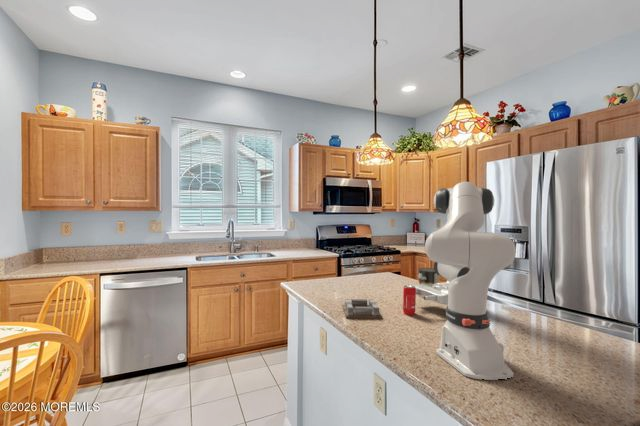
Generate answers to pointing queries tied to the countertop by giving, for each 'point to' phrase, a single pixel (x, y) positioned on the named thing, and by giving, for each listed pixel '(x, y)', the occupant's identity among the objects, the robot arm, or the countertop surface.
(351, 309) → the socket block
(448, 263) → the robot arm
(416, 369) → the countertop surface
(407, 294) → the beverage can
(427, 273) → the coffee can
